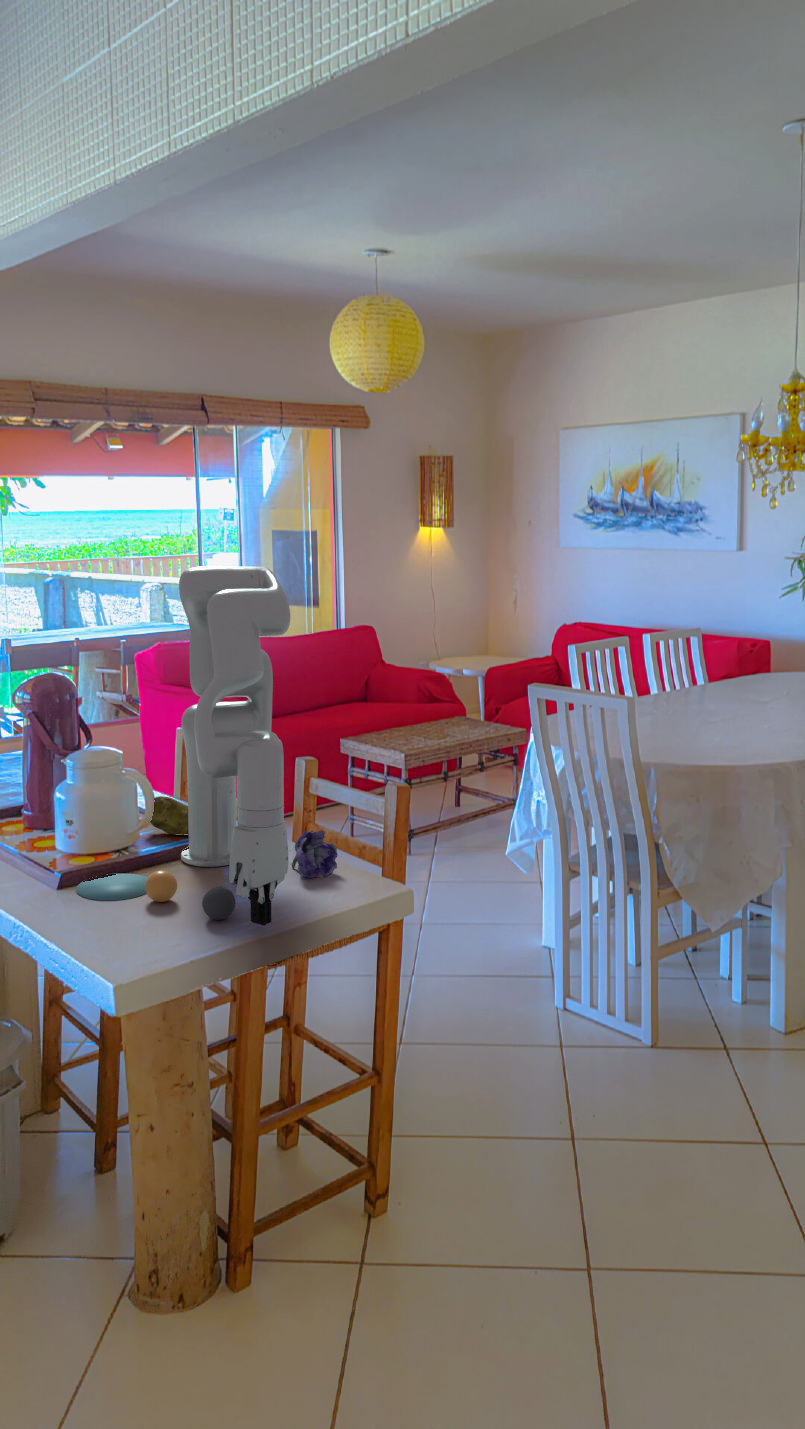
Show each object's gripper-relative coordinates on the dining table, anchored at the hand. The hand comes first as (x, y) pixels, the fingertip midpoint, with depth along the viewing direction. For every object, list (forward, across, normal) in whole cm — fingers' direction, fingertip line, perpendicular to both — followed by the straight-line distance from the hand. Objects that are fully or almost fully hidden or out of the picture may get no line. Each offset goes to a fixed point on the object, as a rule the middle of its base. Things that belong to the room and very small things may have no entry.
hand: (261, 922), depth 178 cm
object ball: (-1, 0, -24) cm, 24 cm away
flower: (+2, -28, -12) cm, 30 cm away
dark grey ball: (-1, 0, -10) cm, 10 cm away
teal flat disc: (+2, 0, -36) cm, 36 cm away
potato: (+2, -30, -51) cm, 60 cm away
